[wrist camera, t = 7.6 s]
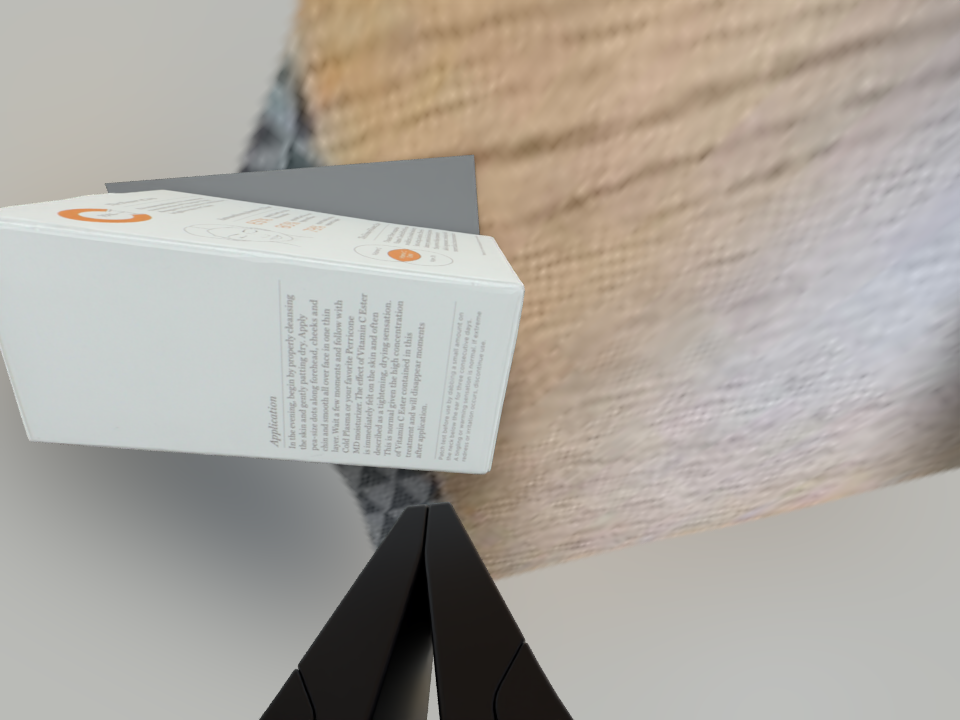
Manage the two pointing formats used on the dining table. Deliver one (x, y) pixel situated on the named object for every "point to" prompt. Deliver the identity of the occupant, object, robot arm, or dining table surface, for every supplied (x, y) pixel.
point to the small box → (255, 331)
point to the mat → (350, 190)
